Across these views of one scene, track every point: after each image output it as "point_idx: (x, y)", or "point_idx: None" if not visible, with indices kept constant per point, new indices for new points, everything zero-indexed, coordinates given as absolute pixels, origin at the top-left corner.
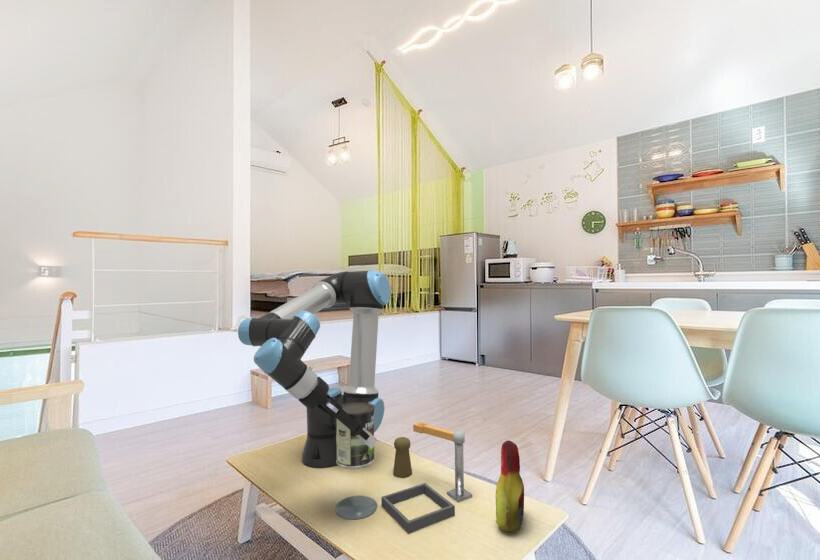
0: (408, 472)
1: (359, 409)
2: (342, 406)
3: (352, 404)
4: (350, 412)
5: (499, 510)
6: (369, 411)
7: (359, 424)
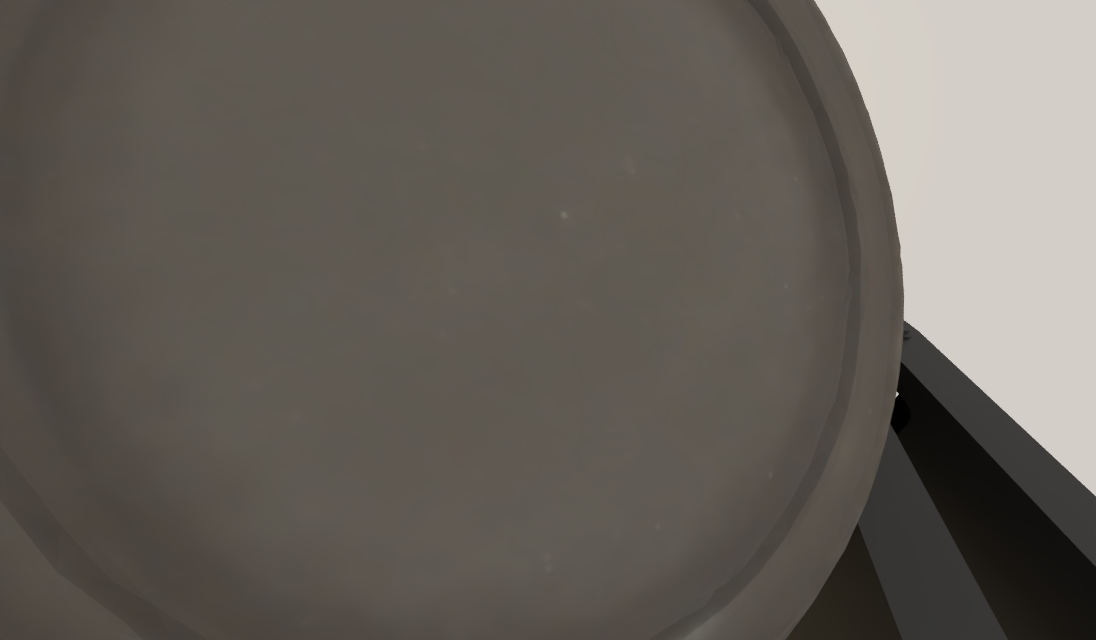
0: None
1: (670, 165)
2: (79, 529)
3: (28, 99)
4: (774, 419)
5: None
6: (847, 70)
7: (947, 367)
